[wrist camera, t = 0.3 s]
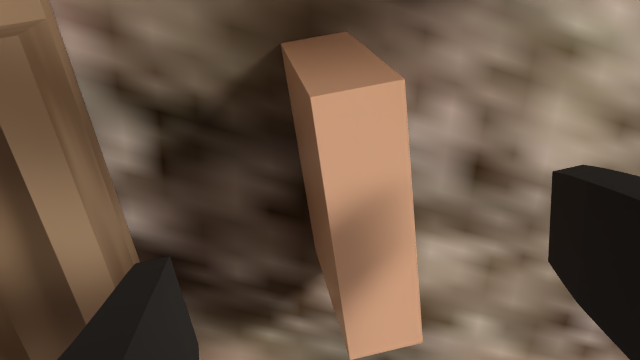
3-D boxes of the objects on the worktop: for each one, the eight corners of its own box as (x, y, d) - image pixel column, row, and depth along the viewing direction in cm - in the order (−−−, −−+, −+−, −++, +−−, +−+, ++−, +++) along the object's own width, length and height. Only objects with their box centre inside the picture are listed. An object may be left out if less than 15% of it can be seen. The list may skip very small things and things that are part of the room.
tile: (370, 236, 21) (422, 342, 16) (315, 248, 21) (350, 359, 16) (346, 31, 18) (404, 79, 12) (280, 43, 18) (310, 97, 12)
